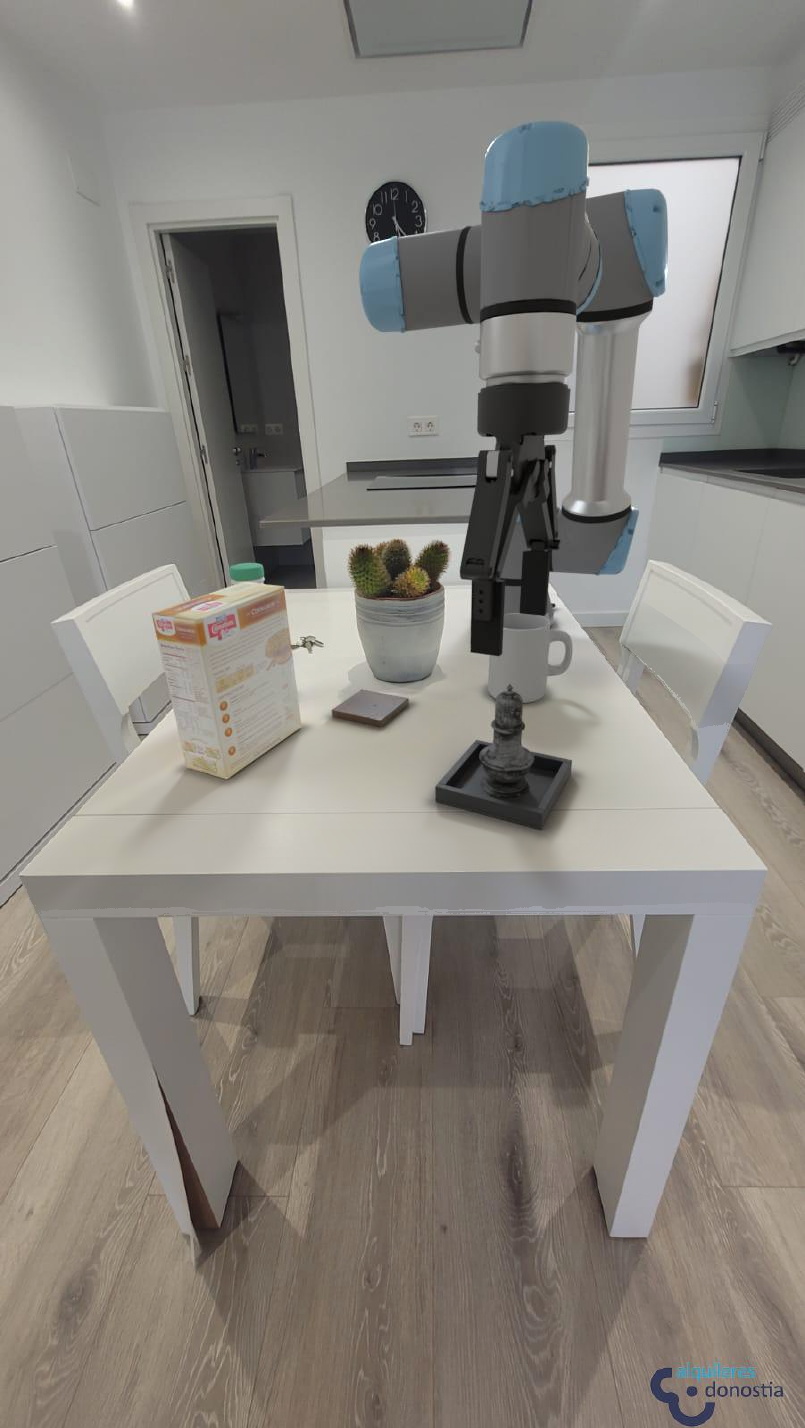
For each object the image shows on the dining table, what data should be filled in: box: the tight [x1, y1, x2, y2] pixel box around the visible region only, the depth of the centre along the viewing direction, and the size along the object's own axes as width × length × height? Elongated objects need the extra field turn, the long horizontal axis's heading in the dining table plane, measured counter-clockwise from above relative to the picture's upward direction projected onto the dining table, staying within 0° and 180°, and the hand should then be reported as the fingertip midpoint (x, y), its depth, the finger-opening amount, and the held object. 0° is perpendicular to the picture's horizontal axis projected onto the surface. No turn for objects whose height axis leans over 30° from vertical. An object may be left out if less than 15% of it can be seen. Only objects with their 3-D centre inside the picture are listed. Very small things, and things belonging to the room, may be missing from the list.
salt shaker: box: [479, 684, 534, 798], centre depth 63 cm, size 6×6×12 cm
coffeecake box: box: [150, 582, 303, 780], centre depth 72 cm, size 15×7×20 cm, turn 152°
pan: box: [434, 739, 573, 831], centre depth 65 cm, size 12×12×2 cm
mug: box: [487, 613, 573, 704], centre depth 87 cm, size 12×8×11 cm
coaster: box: [331, 688, 410, 728], centre depth 85 cm, size 8×8×1 cm
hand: (511, 632), depth 58 cm, fingers open, 13 cm apart
